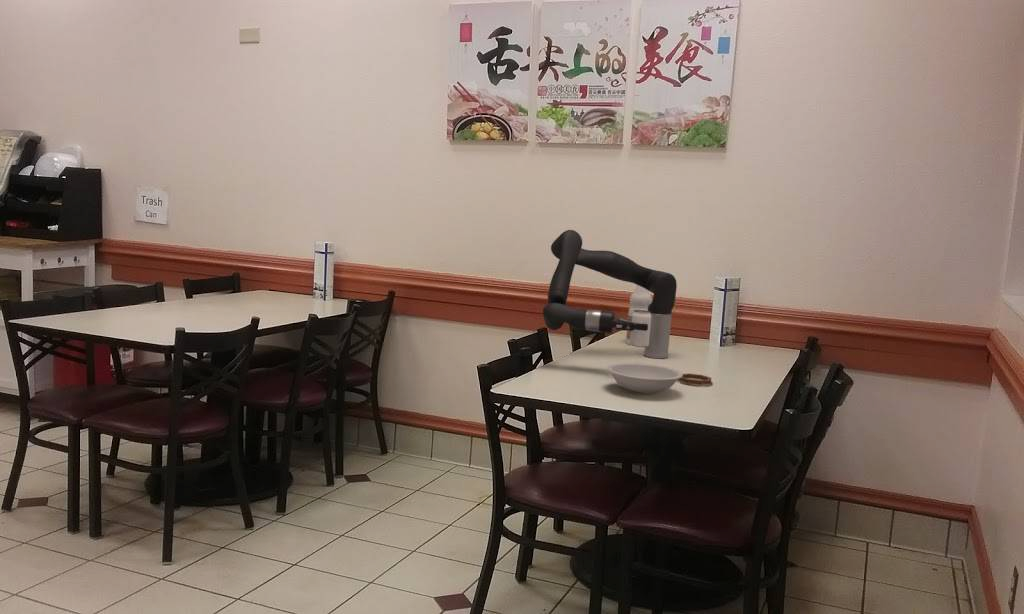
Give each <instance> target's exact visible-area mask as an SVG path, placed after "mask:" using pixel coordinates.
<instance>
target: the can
mask: <svg viewBox="0 0 1024 614" xmlns="http://www.w3.org/2000/svg"><path fill="white" fill-rule="evenodd" d="M632 322H636V323H639V324H648V330H647V331H644V330H633V331H631V336H630V344H631V345H630V346H631V347H635V348H645V347H648V346H649V337H650V326H651V314H650V311H645V310H634V313H633V315H632Z"/></svg>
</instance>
